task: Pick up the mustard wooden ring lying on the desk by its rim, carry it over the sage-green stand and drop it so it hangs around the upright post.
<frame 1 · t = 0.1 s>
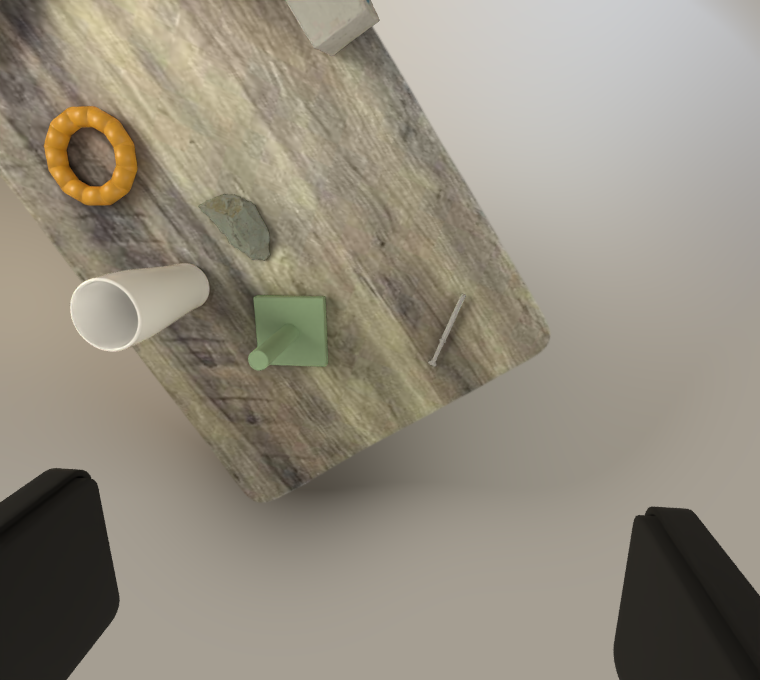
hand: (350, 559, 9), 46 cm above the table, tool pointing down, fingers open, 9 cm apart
ring: (91, 157, 53), point 1 cm above the table
rack: (293, 329, 57), on the table
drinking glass: (190, 285, 57), on the table
rock: (243, 223, 54), on the table
wall anchor: (447, 328, 55), on the table
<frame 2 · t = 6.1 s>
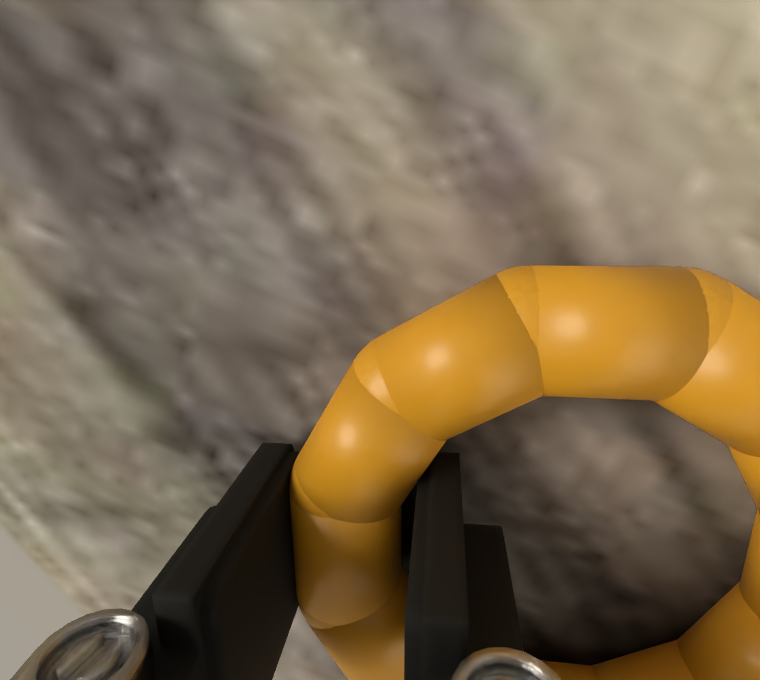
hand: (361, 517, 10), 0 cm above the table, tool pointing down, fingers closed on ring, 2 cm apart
ring: (571, 551, 9), point 1 cm above the table, touching gripper
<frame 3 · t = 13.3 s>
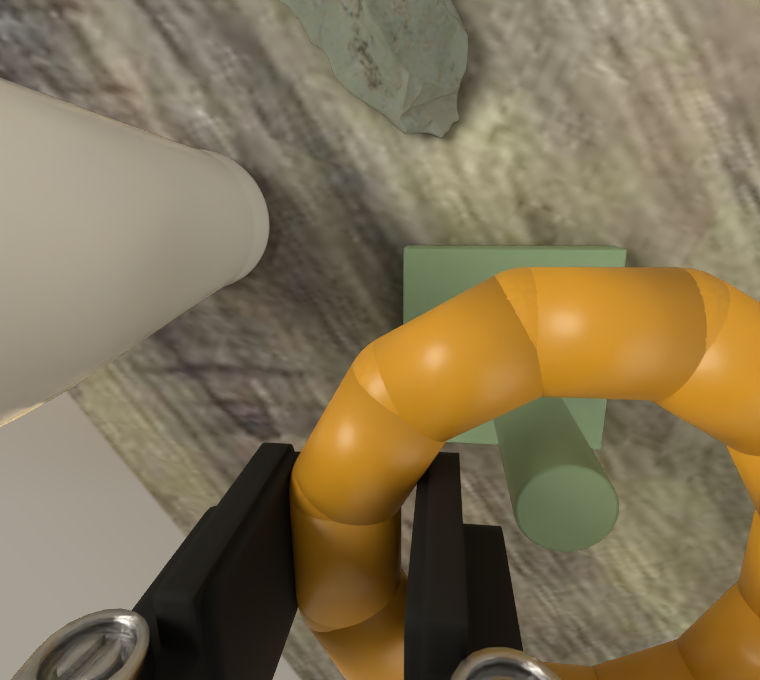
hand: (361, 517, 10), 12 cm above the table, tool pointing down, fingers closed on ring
ring: (571, 552, 9), point 12 cm above the table, touching gripper
rack: (502, 343, 20), on the table
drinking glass: (214, 219, 20), on the table
rock: (379, 18, 18), on the table
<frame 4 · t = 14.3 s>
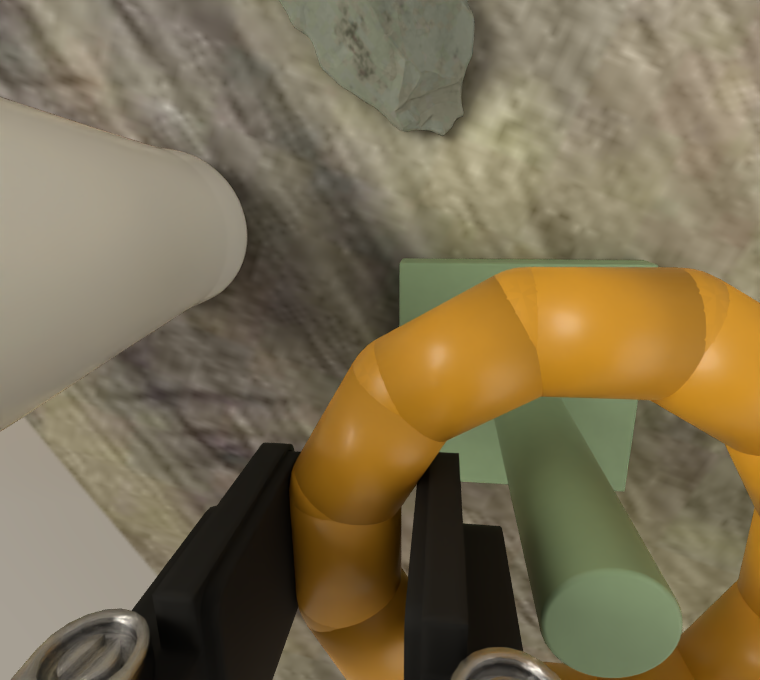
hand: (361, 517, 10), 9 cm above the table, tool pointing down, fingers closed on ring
ring: (571, 552, 9), point 10 cm above the table, touching gripper
rack: (511, 369, 18), on the table
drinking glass: (185, 228, 18), on the table
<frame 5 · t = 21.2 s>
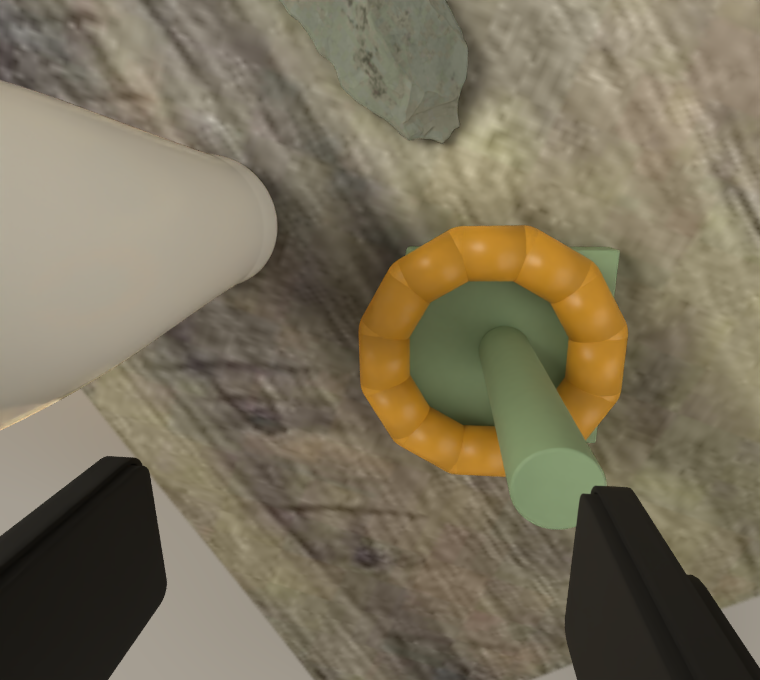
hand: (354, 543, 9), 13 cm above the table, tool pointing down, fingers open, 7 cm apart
ring: (487, 357, 19), point 2 cm above the table, touching rack
rack: (500, 341, 21), on the table
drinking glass: (223, 221, 21), on the table
rock: (383, 30, 19), on the table
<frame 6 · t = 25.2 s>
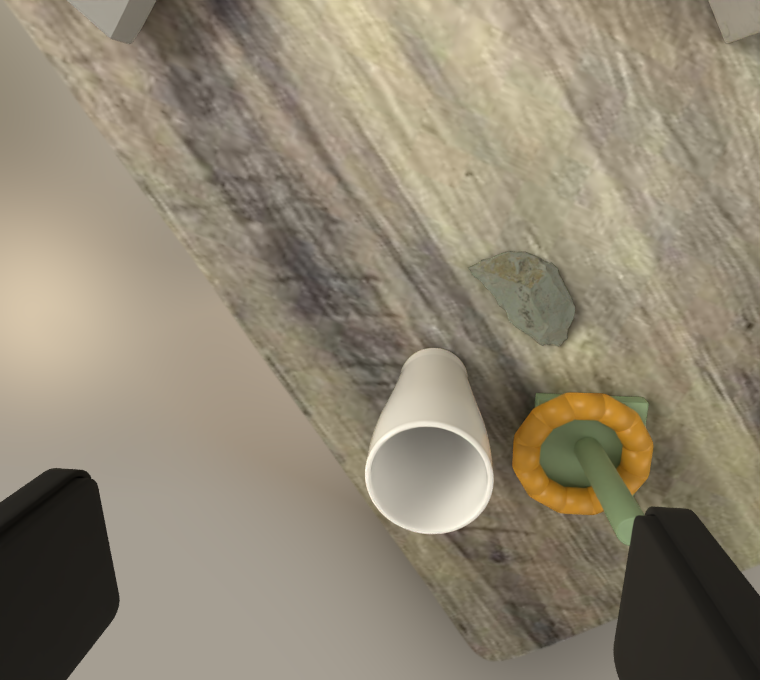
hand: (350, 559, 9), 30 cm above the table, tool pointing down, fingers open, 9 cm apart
ring: (580, 454, 37), point 2 cm above the table, touching rack
rack: (583, 441, 39), on the table
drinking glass: (433, 376, 40), on the table
rock: (530, 291, 37), on the table
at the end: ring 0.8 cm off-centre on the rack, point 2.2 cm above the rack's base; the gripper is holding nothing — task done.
